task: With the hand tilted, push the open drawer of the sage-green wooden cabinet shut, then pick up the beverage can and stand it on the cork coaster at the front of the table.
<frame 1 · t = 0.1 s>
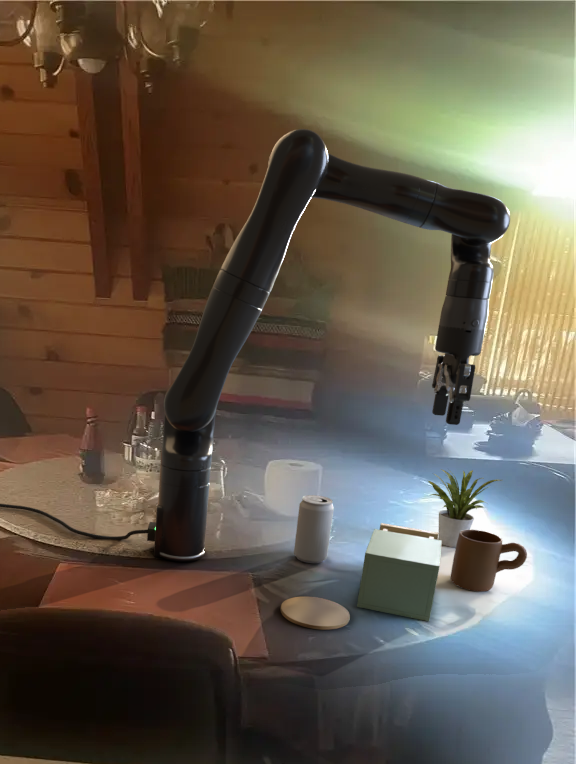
hand: (445, 419, 133), 29 cm above the table, tool pointing down, fingers open, 8 cm apart
cabinet: (395, 598, 130), on the table
mug: (483, 587, 138), on the table
coaster: (314, 614, 121), on the table
drawer: (403, 557, 136), point 5 cm above the table, slide at 6.0 cm
house plant: (455, 543, 161), on the table
beverage can: (309, 559, 145), on the table
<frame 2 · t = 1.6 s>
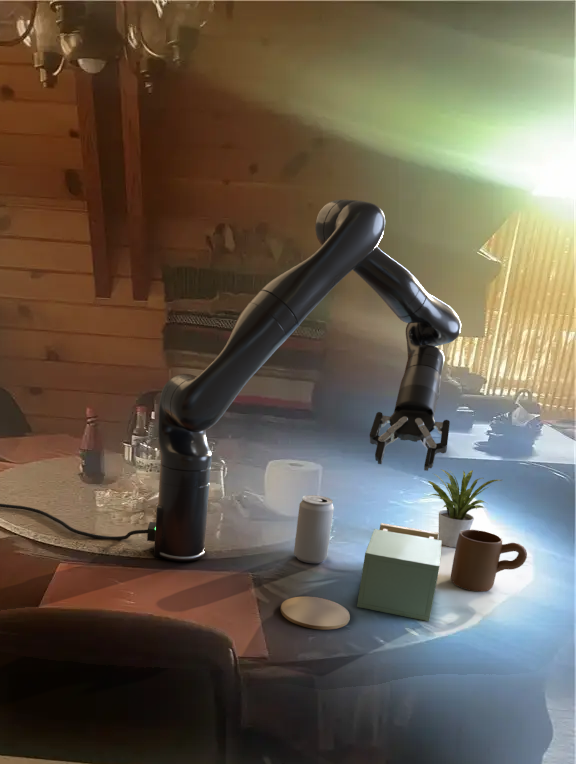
hand: (402, 465, 141), 19 cm above the table, tool tilted 45°, fingers open, 8 cm apart
nothing on the table moved.
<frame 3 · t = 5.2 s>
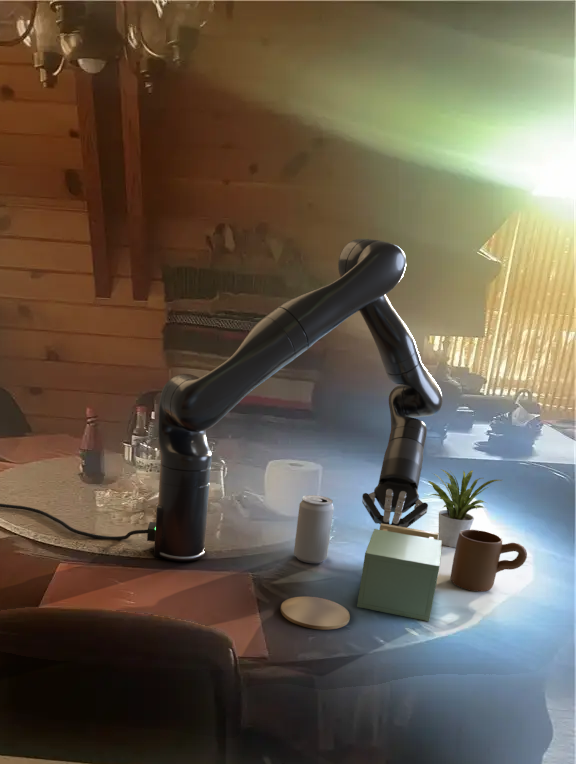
hand: (386, 543, 142), 5 cm above the table, tool tilted 45°, fingers closed
drawer: (403, 557, 136), point 5 cm above the table, slide at 5.8 cm, touching gripper
everything else where it was.
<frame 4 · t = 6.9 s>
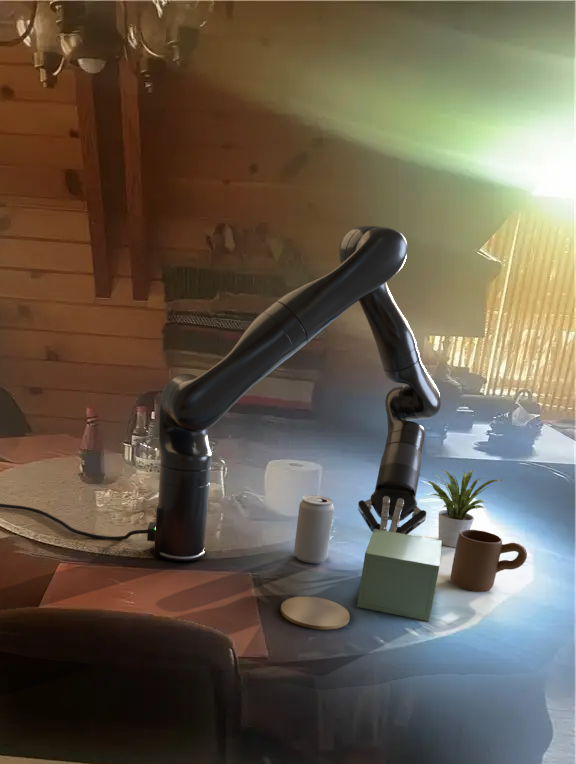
hand: (383, 552, 137), 5 cm above the table, tool tilted 45°, fingers closed
drawer: (401, 568, 130), point 5 cm above the table, slide at 0.0 cm, touching cabinet, gripper
everything else where it was.
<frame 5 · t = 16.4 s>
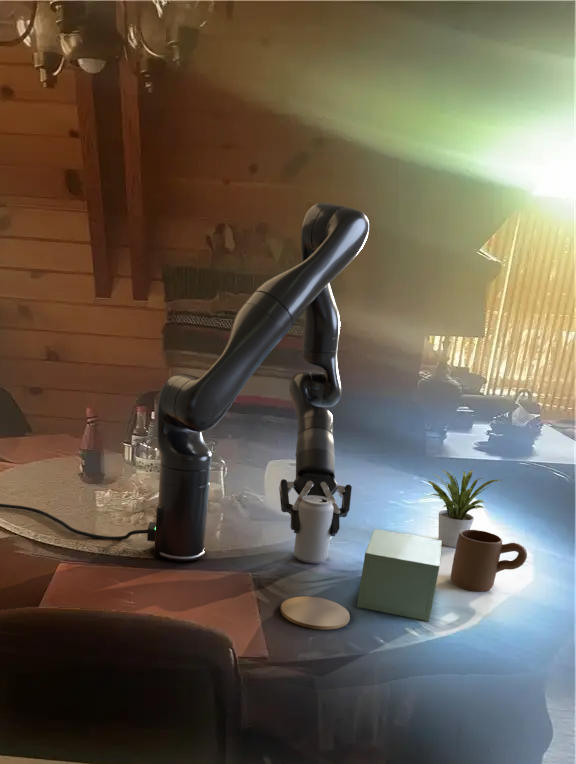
hand: (315, 532, 142), 6 cm above the table, tool tilted 45°, fingers closed on beverage can, 6 cm apart
drawer: (401, 568, 130), point 5 cm above the table, slide at 0.0 cm, touching cabinet
beverage can: (309, 559, 145), on the table, touching gripper
everything else where it was.
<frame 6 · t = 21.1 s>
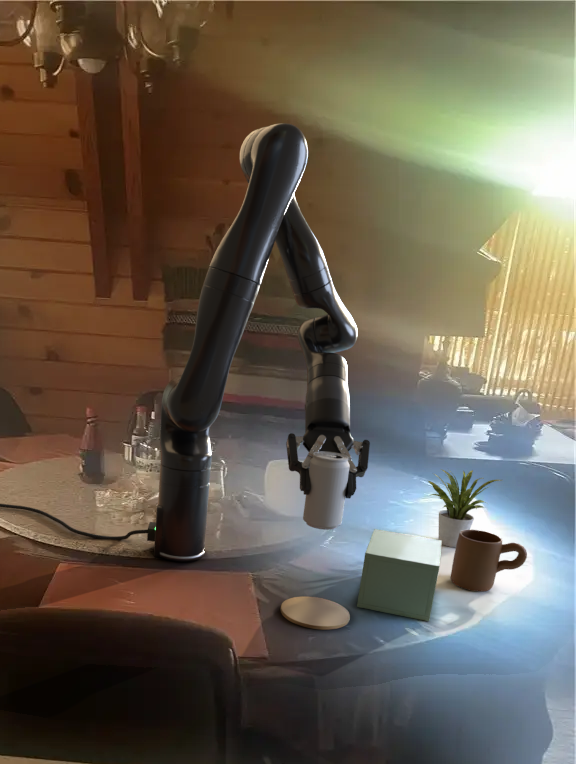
hand: (328, 494, 123), 18 cm above the table, tool tilted 45°, fingers closed on beverage can, 6 cm apart
beverage can: (321, 525, 126), point 12 cm above the table, touching gripper
everything else where it was.
when the fingers open (6 cm above the table, at t = 26.0 s): beverage can stays where it is, resting on coaster.
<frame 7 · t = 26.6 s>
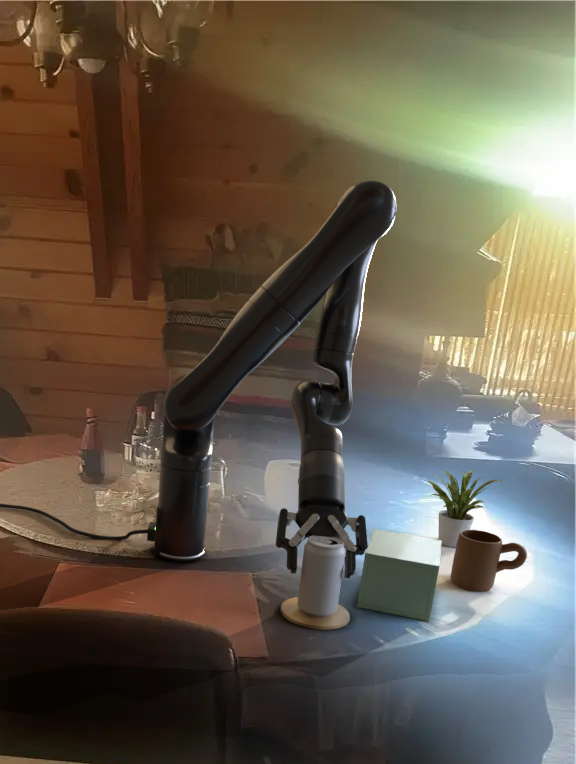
hand: (321, 574, 118), 7 cm above the table, tool tilted 45°, fingers open, 8 cm apart
beverage can: (316, 611, 121), resting on coaster
everything else where it was.
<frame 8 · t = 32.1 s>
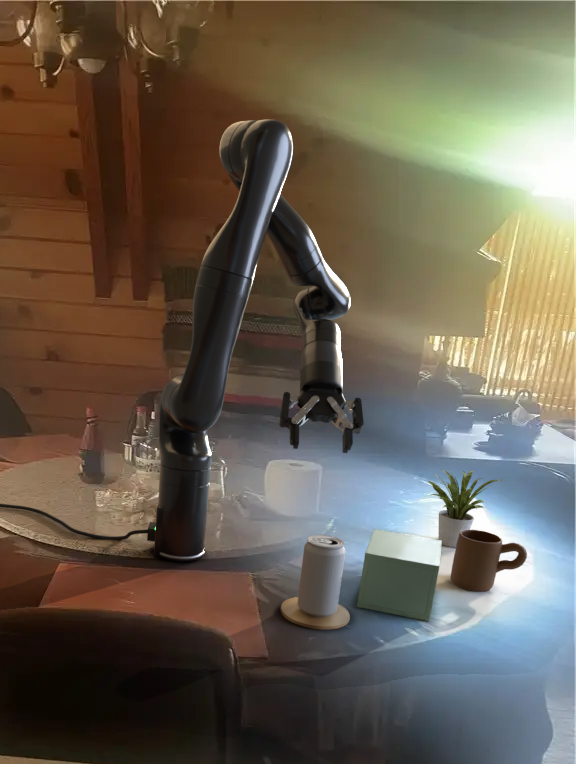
hand: (321, 448, 129), 24 cm above the table, tool tilted 45°, fingers open, 8 cm apart
nothing on the table moved.
at the end: drawer slide at 0.0 cm; beverage can inside the target area on the coaster (0.3 cm from its centre), point 0.4 cm above the coaster's base; beverage can tilted 0° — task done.
